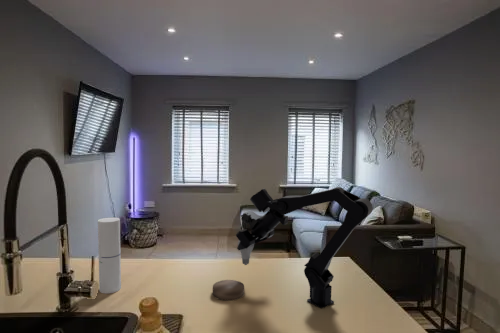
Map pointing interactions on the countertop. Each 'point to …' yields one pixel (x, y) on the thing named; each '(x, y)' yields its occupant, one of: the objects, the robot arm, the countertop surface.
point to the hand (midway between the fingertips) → (242, 247)
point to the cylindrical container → (109, 255)
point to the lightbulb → (246, 254)
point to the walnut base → (228, 290)
